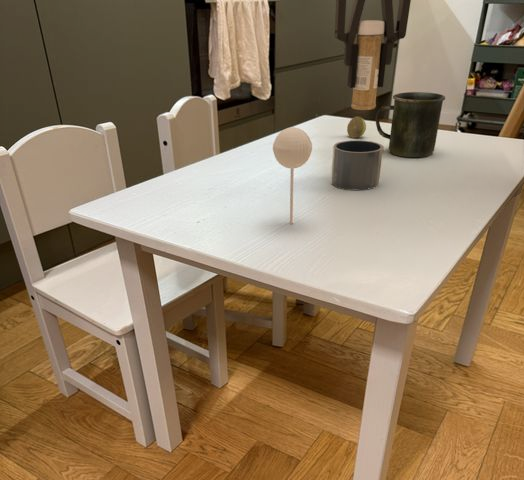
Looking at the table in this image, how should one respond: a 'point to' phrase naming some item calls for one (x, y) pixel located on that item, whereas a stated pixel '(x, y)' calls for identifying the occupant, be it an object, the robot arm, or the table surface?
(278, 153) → the lollipop
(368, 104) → the sprinkles bottle
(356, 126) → the lime
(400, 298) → the table surface
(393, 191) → the table surface
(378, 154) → the tin
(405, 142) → the mug
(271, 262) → the table surface
